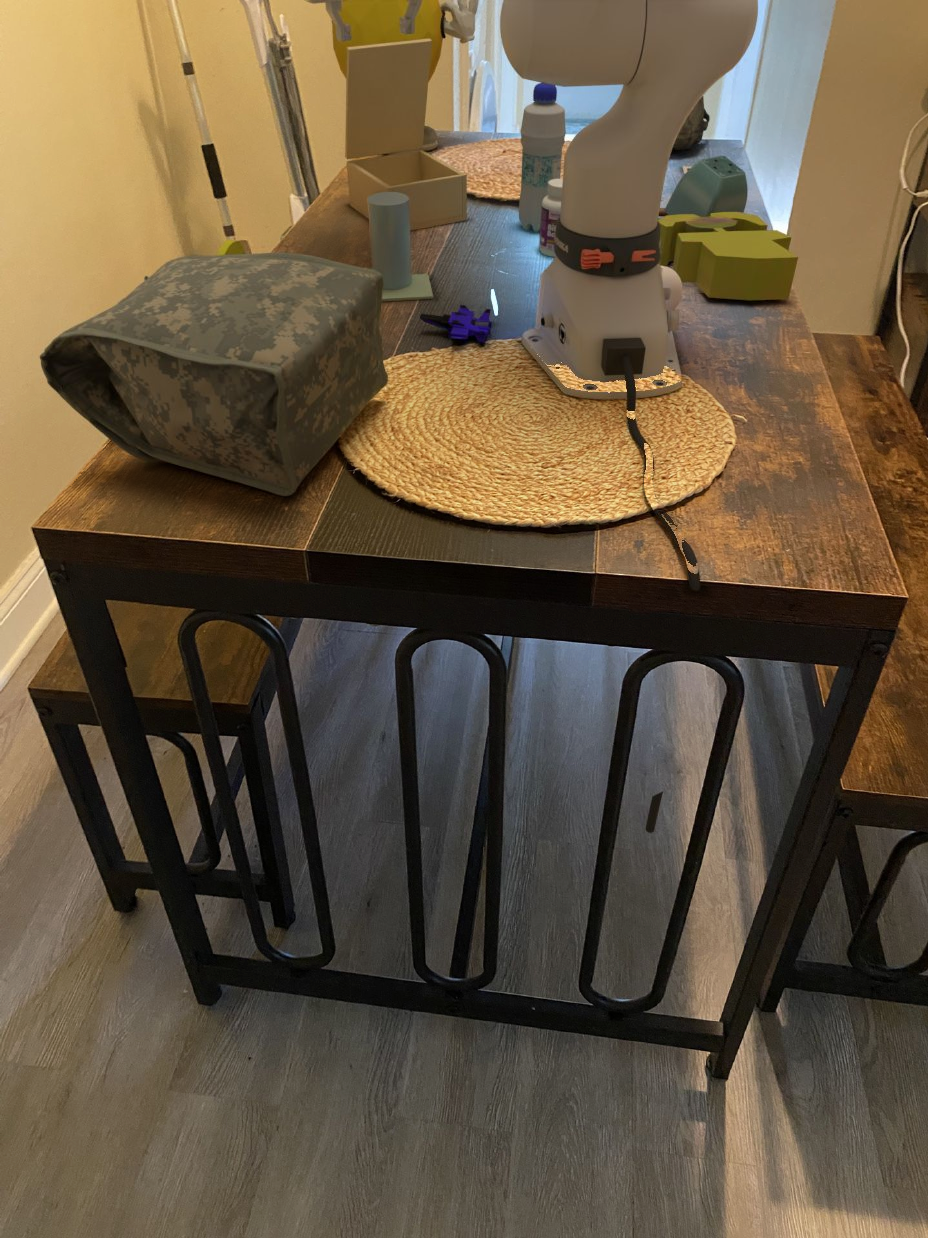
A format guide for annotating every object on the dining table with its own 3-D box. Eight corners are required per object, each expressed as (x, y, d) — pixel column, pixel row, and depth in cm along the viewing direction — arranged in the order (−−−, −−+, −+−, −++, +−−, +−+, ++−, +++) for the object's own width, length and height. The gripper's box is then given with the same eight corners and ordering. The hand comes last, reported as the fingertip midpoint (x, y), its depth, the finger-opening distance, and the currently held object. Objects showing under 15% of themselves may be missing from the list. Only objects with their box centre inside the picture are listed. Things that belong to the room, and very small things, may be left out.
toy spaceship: (495, 305, 117) (493, 321, 118) (426, 297, 117) (425, 314, 119) (486, 339, 109) (485, 356, 111) (413, 330, 110) (412, 347, 111)
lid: (432, 40, 138) (417, 25, 140) (348, 49, 133) (335, 33, 135) (422, 147, 151) (409, 132, 153) (346, 159, 146) (334, 143, 149)
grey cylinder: (418, 284, 125) (415, 200, 118) (382, 292, 124) (377, 207, 116) (396, 266, 130) (392, 185, 123) (361, 273, 128) (355, 191, 121)
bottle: (556, 235, 141) (566, 88, 127) (513, 232, 142) (518, 86, 128) (562, 221, 146) (571, 78, 132) (520, 218, 147) (525, 75, 133)
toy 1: (476, 125, 190) (480, -53, 170) (474, 159, 172) (478, -35, 152) (347, 122, 190) (336, -57, 170) (331, 156, 172) (317, -39, 152)
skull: (737, 79, 162) (674, 12, 168) (651, 143, 164) (593, 74, 171) (740, 153, 180) (683, 90, 186) (663, 209, 183) (609, 145, 189)
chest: (466, 219, 146) (466, 174, 141) (389, 234, 141) (387, 187, 137) (423, 192, 156) (421, 149, 152) (349, 205, 151) (346, 161, 147)
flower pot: (764, 176, 135) (739, 232, 142) (725, 145, 138) (702, 201, 146) (722, 184, 131) (698, 241, 138) (683, 152, 135) (662, 209, 142)
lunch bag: (390, 400, 103) (179, 349, 109) (386, 259, 91) (151, 211, 97) (295, 516, 88) (57, 450, 94) (276, 366, 76) (7, 302, 82)
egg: (683, 282, 120) (689, 257, 112) (675, 328, 119) (680, 305, 112) (637, 277, 120) (639, 251, 113) (629, 322, 120) (630, 299, 113)
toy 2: (644, 256, 135) (694, 307, 120) (650, 215, 131) (702, 262, 116) (746, 250, 137) (807, 299, 122) (753, 210, 133) (818, 255, 118)
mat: (433, 298, 123) (433, 295, 123) (358, 302, 122) (358, 299, 122) (428, 276, 129) (427, 273, 129) (356, 279, 128) (356, 276, 128)
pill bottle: (545, 259, 133) (549, 189, 127) (534, 246, 137) (537, 178, 131) (580, 255, 134) (586, 186, 128) (568, 243, 138) (573, 174, 132)
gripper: (300, -86, 108) (313, 49, 118) (451, -95, 116) (452, 33, 125) (281, -91, 113) (295, 40, 122) (428, -99, 120) (431, 24, 129)
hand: (376, 36), depth 124 cm, fingers open, 8 cm apart
